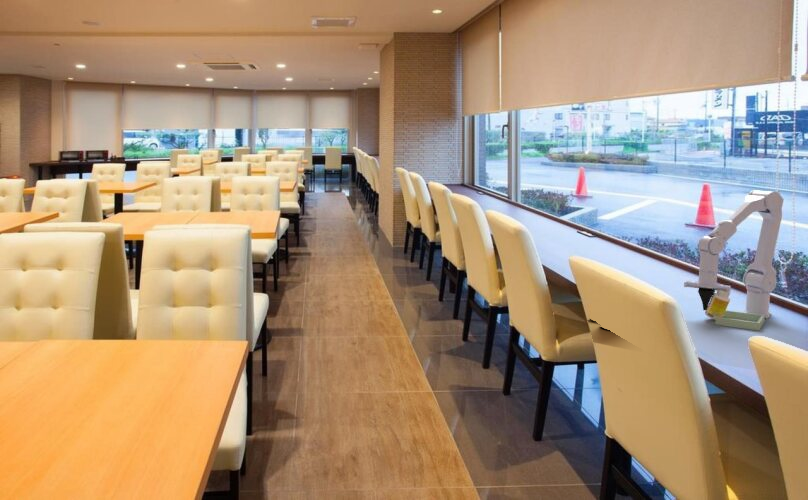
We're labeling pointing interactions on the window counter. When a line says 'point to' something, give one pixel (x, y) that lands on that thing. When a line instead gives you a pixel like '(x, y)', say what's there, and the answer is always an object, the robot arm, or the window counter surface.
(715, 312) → the supplement bottle
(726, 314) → the tray
